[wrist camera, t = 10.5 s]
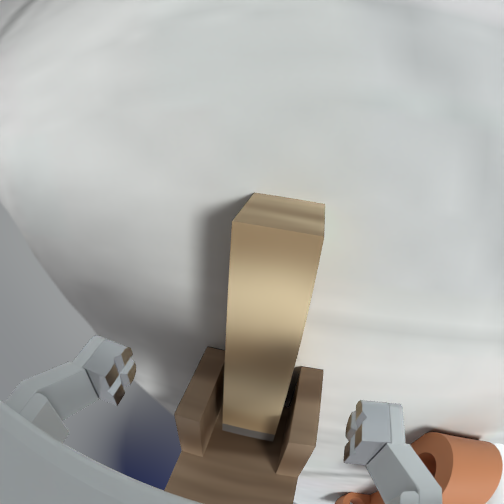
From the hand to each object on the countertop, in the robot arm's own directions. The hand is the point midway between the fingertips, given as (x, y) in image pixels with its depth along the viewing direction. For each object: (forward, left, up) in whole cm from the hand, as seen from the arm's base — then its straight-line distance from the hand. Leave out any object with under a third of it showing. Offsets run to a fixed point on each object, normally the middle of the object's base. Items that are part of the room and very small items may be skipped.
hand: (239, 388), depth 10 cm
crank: (+22, +17, -9) cm, 29 cm away
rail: (+3, 0, -8) cm, 9 cm away
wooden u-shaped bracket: (+11, 0, -8) cm, 14 cm away
